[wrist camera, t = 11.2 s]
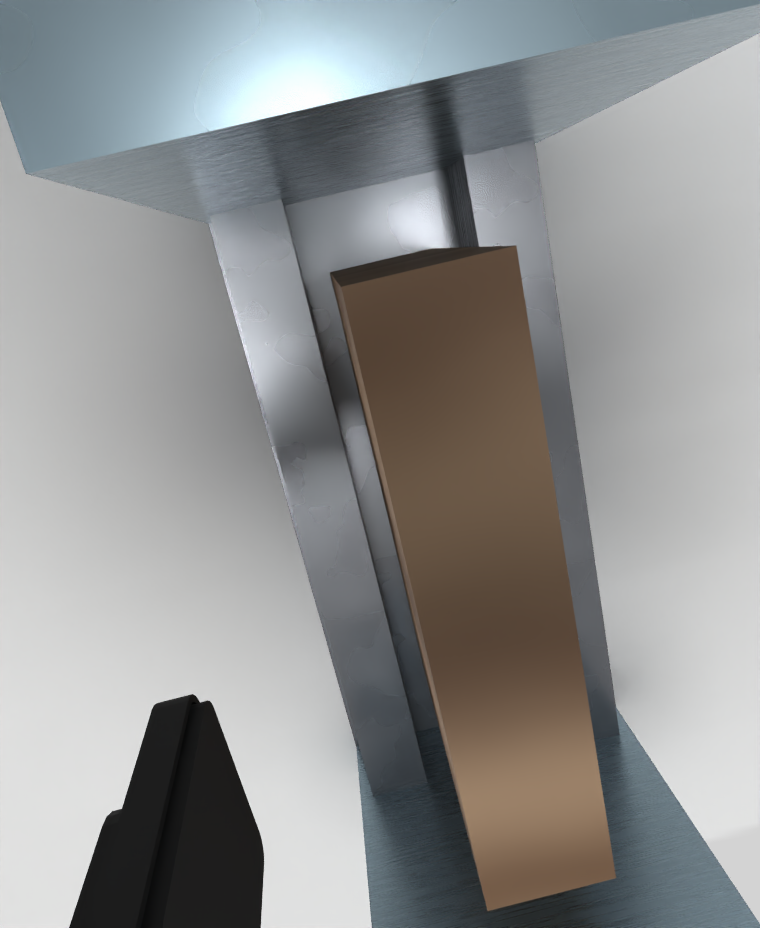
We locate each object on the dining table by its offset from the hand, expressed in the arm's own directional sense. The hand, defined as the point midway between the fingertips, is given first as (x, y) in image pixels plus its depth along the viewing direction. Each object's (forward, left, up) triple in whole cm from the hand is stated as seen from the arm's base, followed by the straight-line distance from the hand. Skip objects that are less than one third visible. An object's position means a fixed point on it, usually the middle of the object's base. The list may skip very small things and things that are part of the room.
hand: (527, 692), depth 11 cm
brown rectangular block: (0, +1, -12) cm, 12 cm away
